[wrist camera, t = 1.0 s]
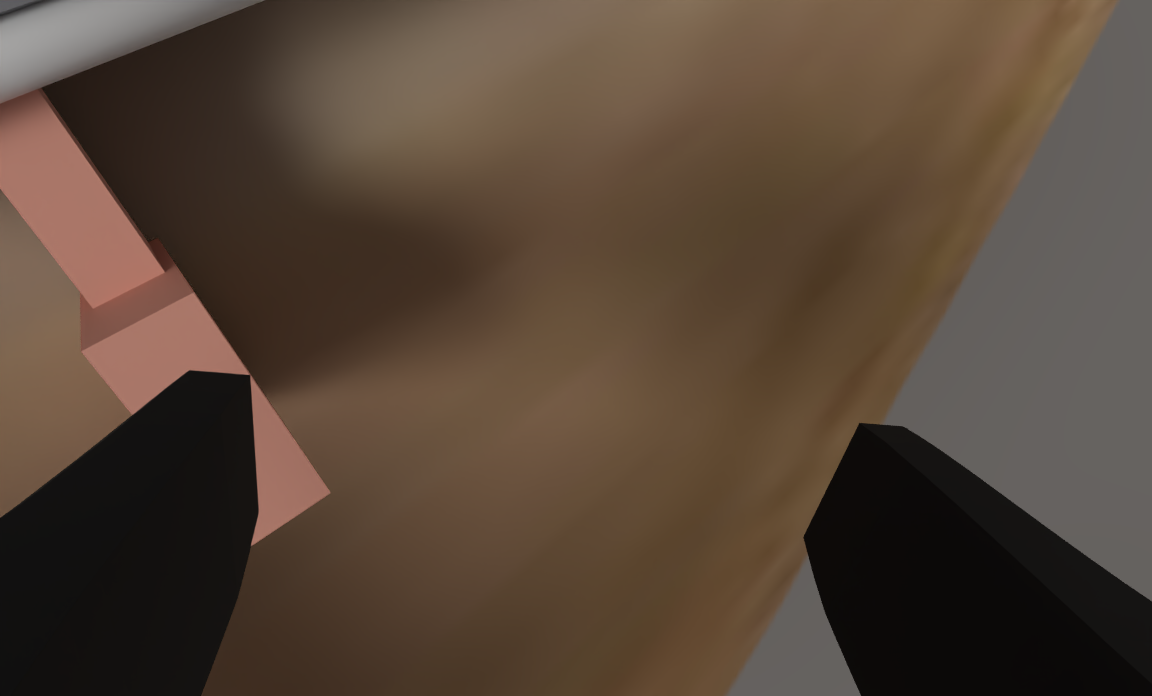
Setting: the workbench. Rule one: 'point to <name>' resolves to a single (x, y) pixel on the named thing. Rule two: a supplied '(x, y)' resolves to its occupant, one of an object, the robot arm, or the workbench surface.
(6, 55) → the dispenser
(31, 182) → the pink stepped stick
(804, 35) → the workbench surface
